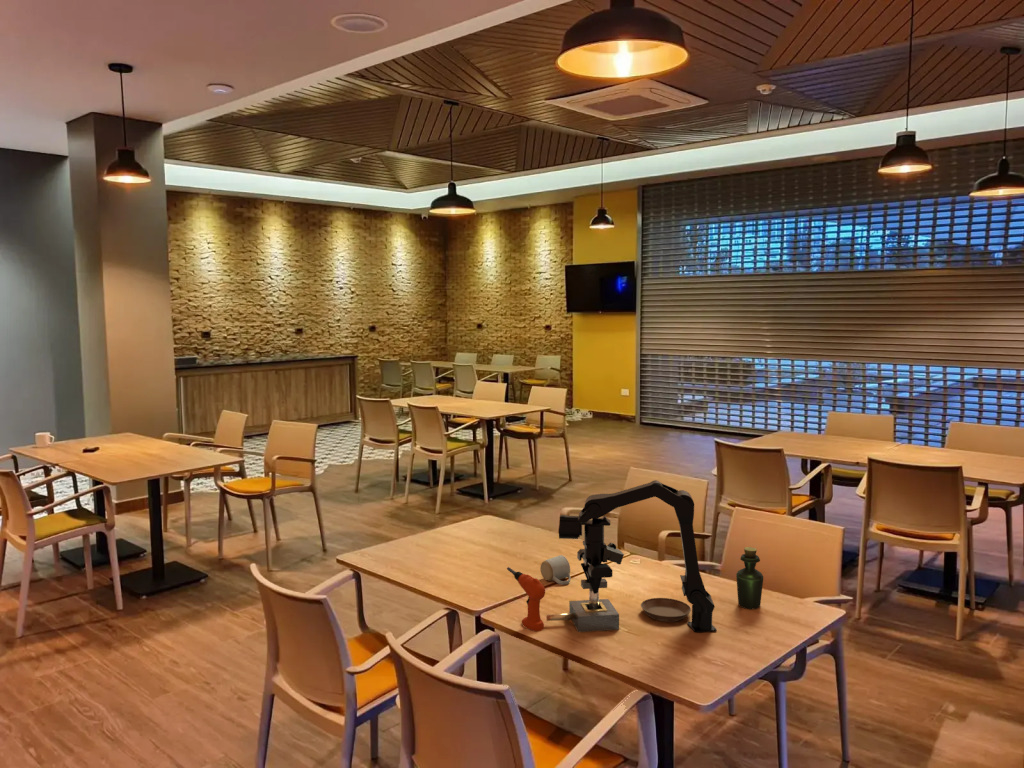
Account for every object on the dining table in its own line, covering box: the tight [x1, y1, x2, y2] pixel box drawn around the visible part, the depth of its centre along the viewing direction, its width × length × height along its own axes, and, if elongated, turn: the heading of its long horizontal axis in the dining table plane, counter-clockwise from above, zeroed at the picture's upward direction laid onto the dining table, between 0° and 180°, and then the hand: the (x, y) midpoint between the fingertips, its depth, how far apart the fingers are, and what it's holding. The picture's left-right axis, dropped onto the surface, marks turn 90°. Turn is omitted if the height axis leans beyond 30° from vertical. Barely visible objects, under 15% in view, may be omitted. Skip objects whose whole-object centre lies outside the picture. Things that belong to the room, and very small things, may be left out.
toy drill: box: [506, 566, 546, 632], centre depth 217 cm, size 5×19×15 cm, turn 33°
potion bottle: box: [735, 546, 764, 610], centre depth 228 cm, size 8×8×18 cm
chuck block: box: [545, 598, 620, 633], centre depth 216 cm, size 12×20×5 cm, turn 97°
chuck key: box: [580, 578, 608, 610], centre depth 216 cm, size 3×7×8 cm, turn 98°
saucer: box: [640, 597, 692, 622], centre depth 222 cm, size 15×15×3 cm
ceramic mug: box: [540, 554, 571, 586], centre depth 252 cm, size 11×8×8 cm
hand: (594, 591), depth 216 cm, fingers closed on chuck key, 3 cm apart
